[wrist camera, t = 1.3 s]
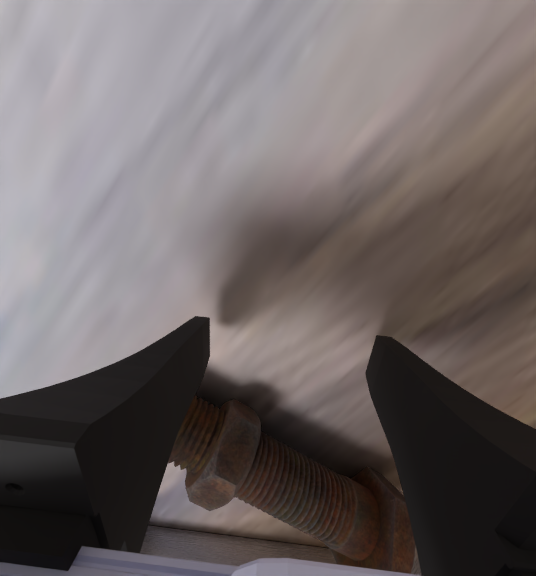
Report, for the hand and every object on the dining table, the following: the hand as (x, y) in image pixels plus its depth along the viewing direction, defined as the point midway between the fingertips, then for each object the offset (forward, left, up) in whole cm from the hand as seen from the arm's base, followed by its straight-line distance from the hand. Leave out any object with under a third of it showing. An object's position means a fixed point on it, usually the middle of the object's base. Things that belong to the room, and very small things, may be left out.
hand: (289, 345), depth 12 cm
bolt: (-8, 0, -2) cm, 8 cm away
